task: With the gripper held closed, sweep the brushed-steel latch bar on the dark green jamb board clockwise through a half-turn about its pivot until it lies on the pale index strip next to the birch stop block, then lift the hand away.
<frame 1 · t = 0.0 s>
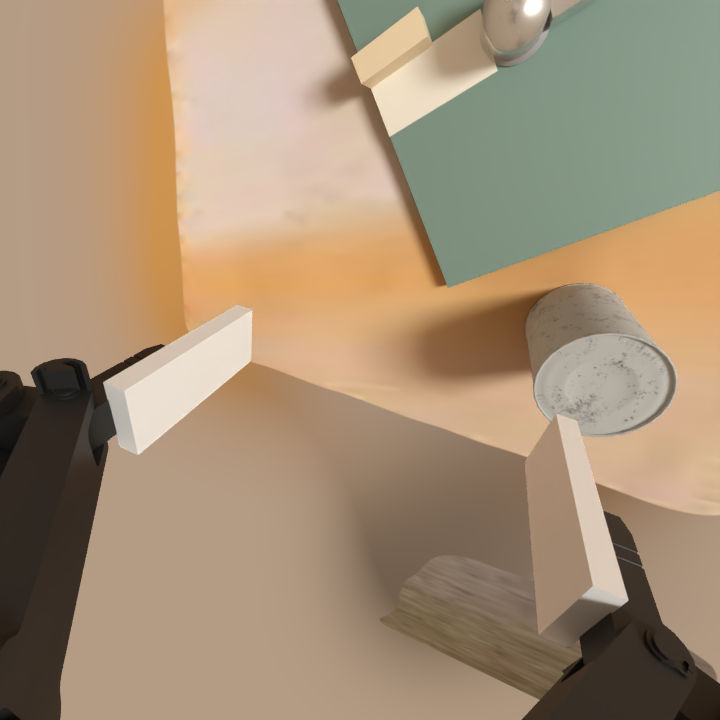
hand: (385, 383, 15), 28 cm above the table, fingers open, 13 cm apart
jamb board: (528, 82, 30), on the table
speckled grey cylinder: (573, 326, 39), on the table
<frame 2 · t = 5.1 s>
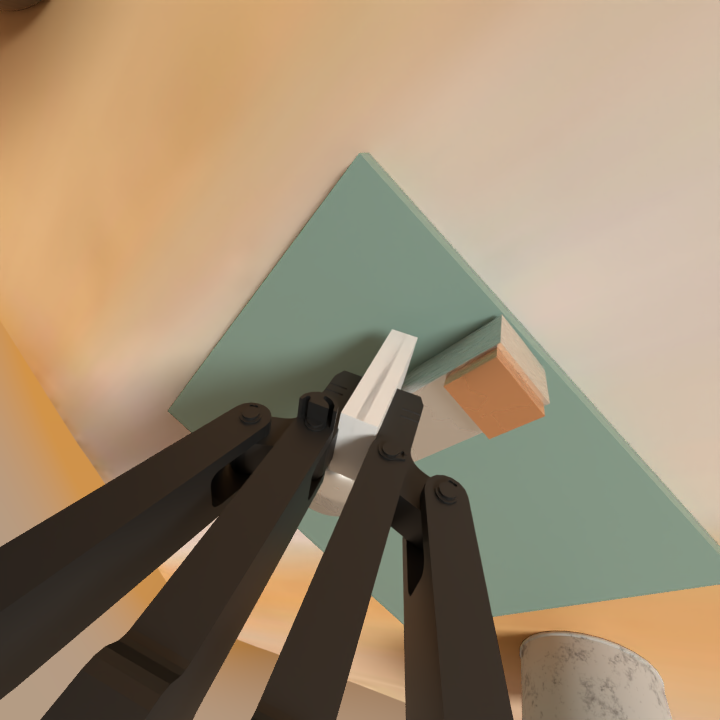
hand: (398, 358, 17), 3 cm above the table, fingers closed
jamb board: (397, 464, 25), on the table
latch bar: (395, 430, 18), point 4 cm above the table, hinge at 3.2°, touching gripper
speckled grey cylinder: (585, 665, 28), on the table
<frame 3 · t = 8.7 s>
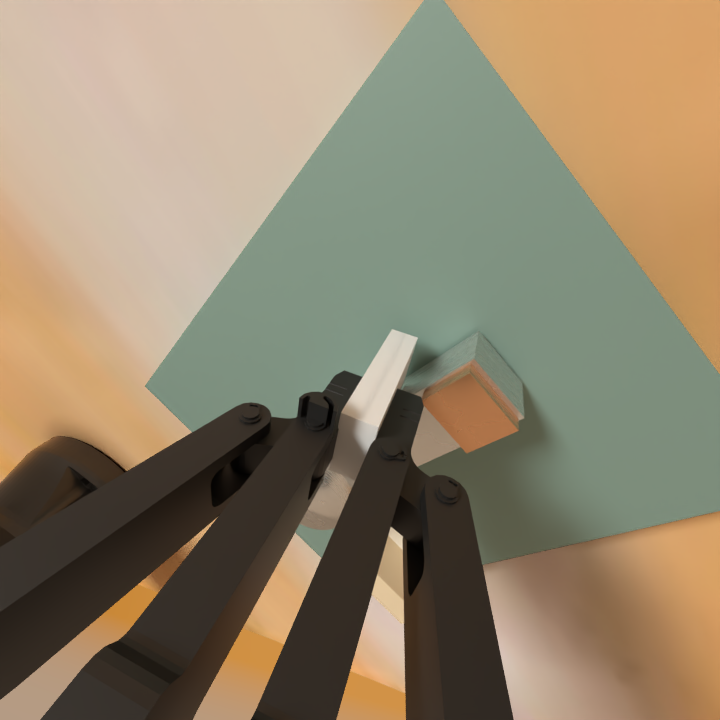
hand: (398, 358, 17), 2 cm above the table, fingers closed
jamb board: (384, 411, 22), on the table
latch bar: (379, 443, 19), point 3 cm above the table, hinge at 90.2°, touching gripper
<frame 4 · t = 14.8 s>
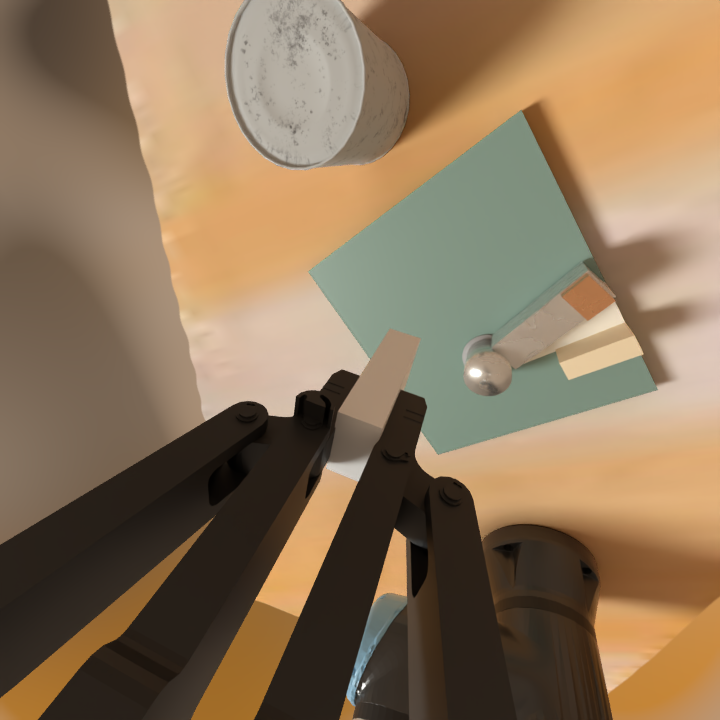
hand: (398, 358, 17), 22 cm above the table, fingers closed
jamb board: (469, 321, 38), on the table
latch bar: (528, 335, 34), point 3 cm above the table, hinge at 163.6°
speckled grey cylinder: (357, 104, 32), on the table
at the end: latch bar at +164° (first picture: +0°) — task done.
